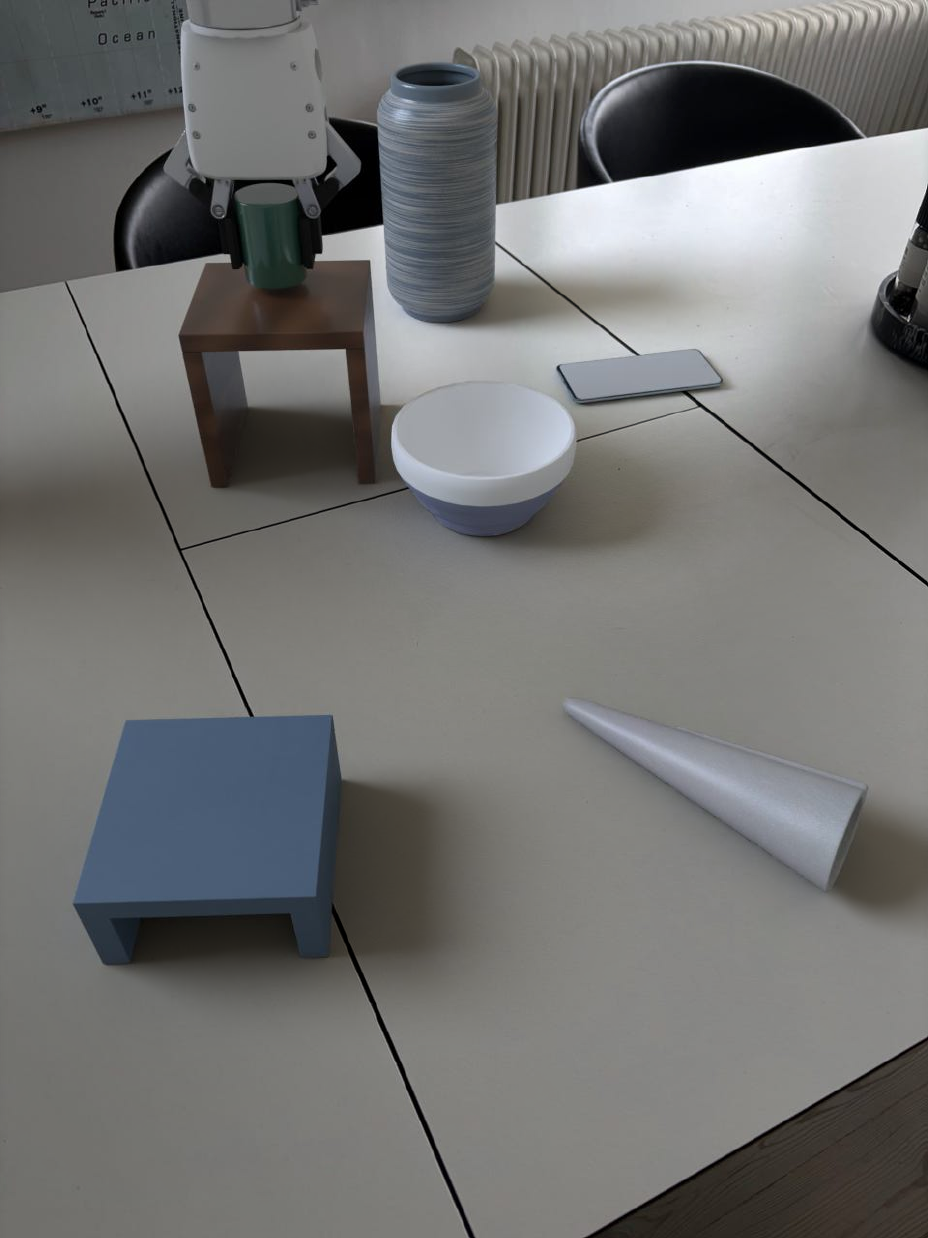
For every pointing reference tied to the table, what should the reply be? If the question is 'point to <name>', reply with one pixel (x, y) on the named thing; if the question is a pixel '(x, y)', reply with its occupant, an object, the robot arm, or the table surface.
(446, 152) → the vase
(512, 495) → the bowl
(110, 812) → the lower shelf
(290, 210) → the jar
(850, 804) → the long tapered cone
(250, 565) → the table surface
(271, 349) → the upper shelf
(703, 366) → the smartphone
